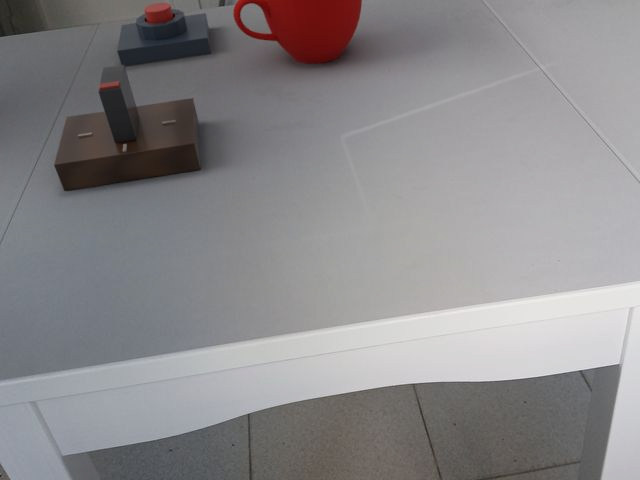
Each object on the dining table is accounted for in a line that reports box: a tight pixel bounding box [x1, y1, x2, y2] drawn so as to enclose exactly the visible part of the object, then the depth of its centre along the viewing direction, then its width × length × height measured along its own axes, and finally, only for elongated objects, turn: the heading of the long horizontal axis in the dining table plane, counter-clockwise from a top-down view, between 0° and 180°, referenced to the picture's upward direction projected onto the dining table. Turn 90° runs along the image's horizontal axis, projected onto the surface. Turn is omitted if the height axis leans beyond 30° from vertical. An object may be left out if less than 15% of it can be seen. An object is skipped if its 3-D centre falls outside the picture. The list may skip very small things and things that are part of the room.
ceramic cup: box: [232, 0, 363, 64], centre depth 91 cm, size 13×17×10 cm
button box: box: [116, 8, 212, 67], centre depth 100 cm, size 12×10×4 cm
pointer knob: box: [97, 64, 139, 143], centre depth 74 cm, size 6×2×6 cm, turn 10°
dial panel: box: [53, 97, 202, 192], centre depth 77 cm, size 14×11×3 cm
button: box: [143, 2, 174, 23], centre depth 98 cm, size 4×4×2 cm
